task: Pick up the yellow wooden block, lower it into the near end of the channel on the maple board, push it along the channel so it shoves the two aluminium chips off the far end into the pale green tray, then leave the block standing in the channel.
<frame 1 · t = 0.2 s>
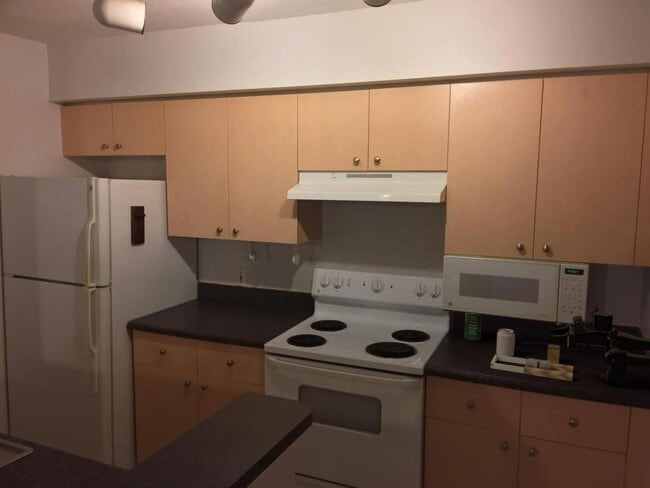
hand: (549, 333, 214), 17 cm above the worktop, tool horizontal, fingers open, 9 cm apart
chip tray: (508, 367, 222), on the worktop
yellow wooden block: (552, 363, 227), on the worktop
slot board: (548, 374, 215), on the worktop
chip a: (544, 371, 216), point 1 cm above the worktop, touching slot board
can: (504, 356, 237), on the worktop
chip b: (532, 369, 217), point 1 cm above the worktop, touching slot board
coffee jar: (472, 338, 262), on the worktop
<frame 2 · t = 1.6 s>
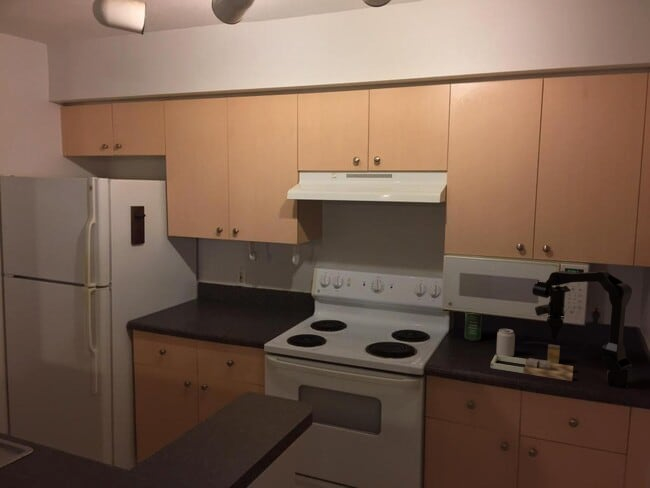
hand: (554, 335, 225), 13 cm above the worktop, tool pointing down, fingers open, 9 cm apart
nothing on the worktop moved.
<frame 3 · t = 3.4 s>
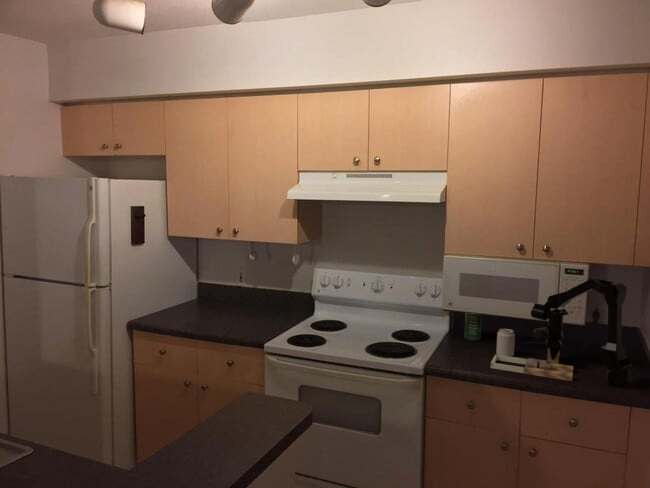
hand: (553, 358, 227), 3 cm above the worktop, tool pointing down, fingers closed on yellow wooden block, 3 cm apart
yellow wooden block: (552, 363, 227), on the worktop, touching gripper
everything else where it was.
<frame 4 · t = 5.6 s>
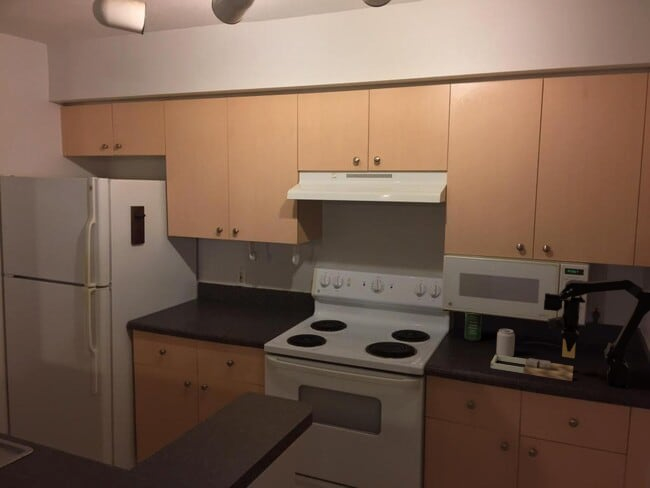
hand: (568, 350, 210), 11 cm above the worktop, tool pointing down, fingers closed on yellow wooden block, 3 cm apart
yellow wooden block: (568, 356, 211), point 9 cm above the worktop, touching gripper
everything else where it was.
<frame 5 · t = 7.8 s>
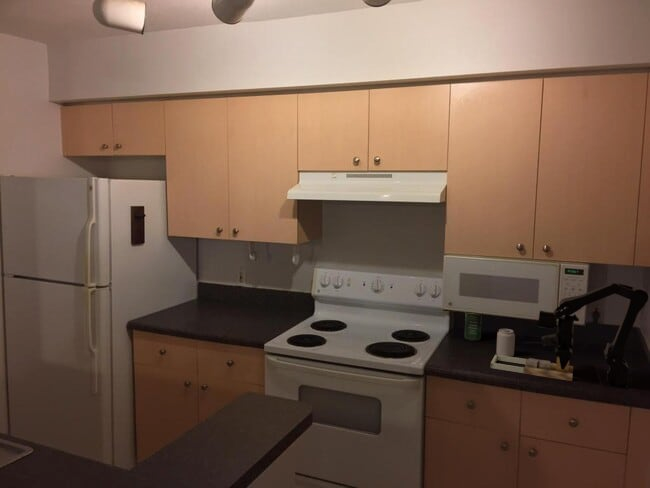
hand: (562, 367, 212), 4 cm above the worktop, tool pointing down, fingers closed on yellow wooden block, 3 cm apart
yellow wooden block: (562, 373, 213), point 1 cm above the worktop, touching gripper
everything else where it was.
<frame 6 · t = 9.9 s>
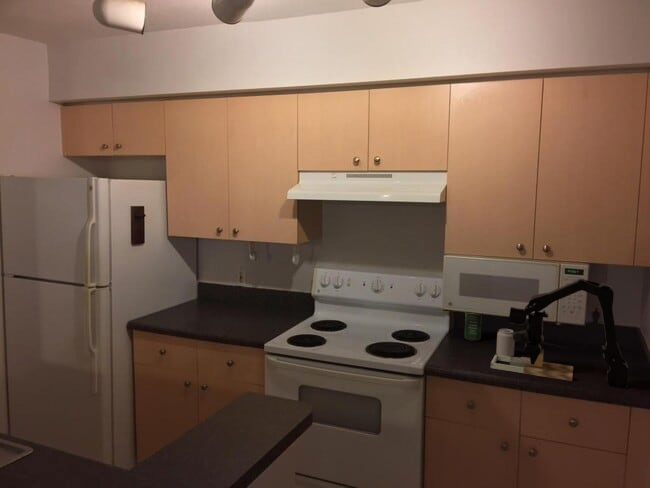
hand: (533, 362, 217), 4 cm above the worktop, tool pointing down, fingers closed on chip a, yellow wooden block, 3 cm apart
yellow wooden block: (536, 368, 217), point 2 cm above the worktop, touching gripper
chip a: (525, 368, 219), point 1 cm above the worktop, touching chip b, gripper
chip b: (515, 367, 220), point 1 cm above the worktop, touching chip a
everything else where it was.
when the fingers open (4 cm above the worktop, at t = 12.6 s): chip a stays where it is, resting on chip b, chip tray; yellow wooden block stays where it is, resting on slot board.
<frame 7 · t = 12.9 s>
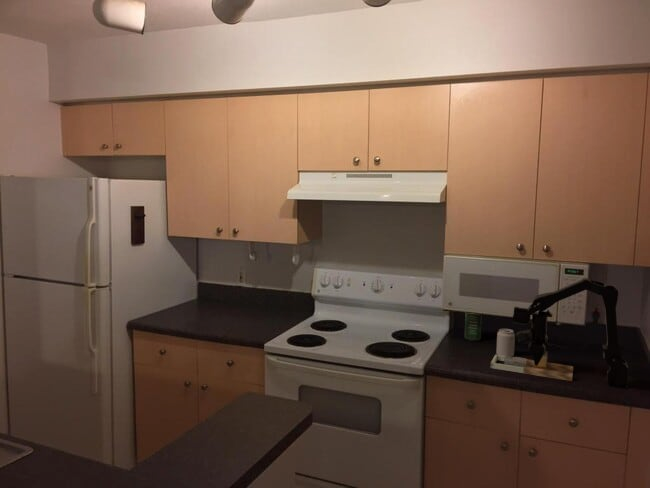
hand: (536, 362, 216), 4 cm above the worktop, tool pointing down, fingers open, 7 cm apart
yellow wooden block: (540, 370, 216), point 1 cm above the worktop, touching slot board
chip a: (519, 368, 220), point 1 cm above the worktop, touching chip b, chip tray
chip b: (509, 367, 221), point 1 cm above the worktop, touching chip a, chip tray
everything else where it was.
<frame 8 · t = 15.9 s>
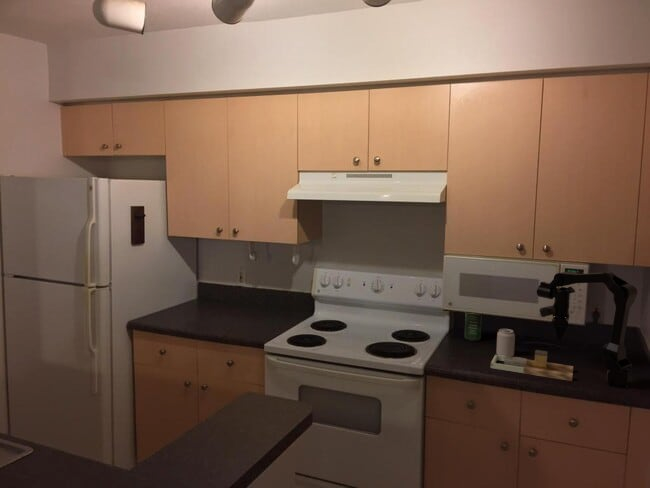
hand: (559, 337, 224), 13 cm above the worktop, tool pointing down, fingers open, 9 cm apart
nothing on the worktop moved.
at the end: chip a inside the target area (4.3 cm from its centre), point 0.6 cm above the worktop; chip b inside the target area (0.5 cm from its centre), point 0.6 cm above the worktop; the gripper is holding nothing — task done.
